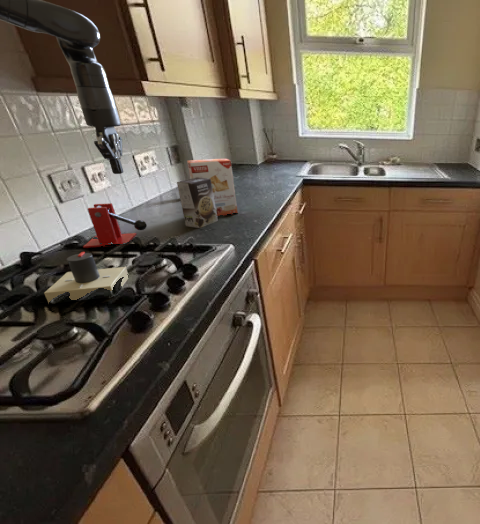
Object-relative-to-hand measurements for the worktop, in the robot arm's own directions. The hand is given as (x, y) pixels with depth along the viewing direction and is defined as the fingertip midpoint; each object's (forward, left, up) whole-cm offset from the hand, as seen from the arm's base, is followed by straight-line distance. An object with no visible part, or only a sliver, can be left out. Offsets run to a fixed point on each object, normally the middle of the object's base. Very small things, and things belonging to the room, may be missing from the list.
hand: (118, 173), depth 95 cm
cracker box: (+21, +24, -21) cm, 38 cm away
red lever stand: (-7, 0, -21) cm, 22 cm away
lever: (-3, 0, -15) cm, 15 cm away
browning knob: (-1, -31, -18) cm, 36 cm away
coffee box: (+17, +12, -21) cm, 30 cm away
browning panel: (-1, -31, -21) cm, 37 cm away
